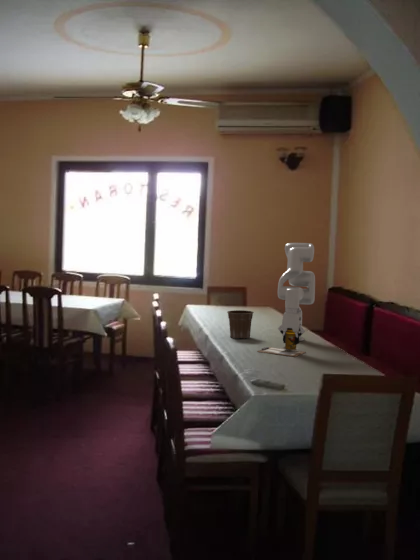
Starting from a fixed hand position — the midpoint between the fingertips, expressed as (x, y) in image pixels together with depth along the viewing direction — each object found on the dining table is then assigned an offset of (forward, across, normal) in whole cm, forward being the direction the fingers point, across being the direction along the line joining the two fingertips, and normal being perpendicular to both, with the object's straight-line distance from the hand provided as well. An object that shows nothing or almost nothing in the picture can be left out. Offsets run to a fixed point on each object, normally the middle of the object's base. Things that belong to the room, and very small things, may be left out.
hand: (290, 343), depth 312 cm
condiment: (+3, +1, 0) cm, 4 cm away
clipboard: (+5, +4, +3) cm, 7 cm away
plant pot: (+5, +44, -23) cm, 50 cm away
